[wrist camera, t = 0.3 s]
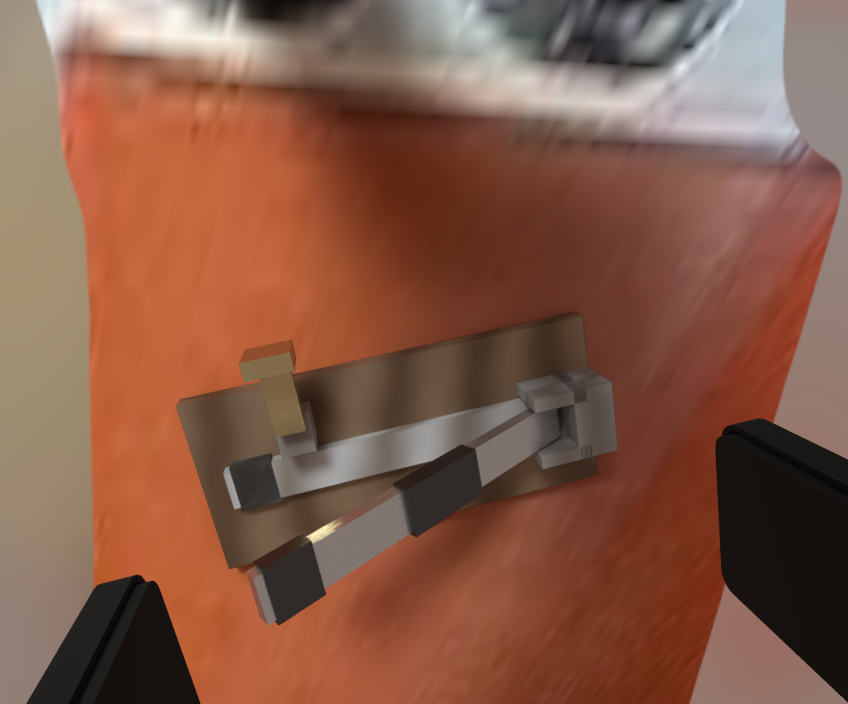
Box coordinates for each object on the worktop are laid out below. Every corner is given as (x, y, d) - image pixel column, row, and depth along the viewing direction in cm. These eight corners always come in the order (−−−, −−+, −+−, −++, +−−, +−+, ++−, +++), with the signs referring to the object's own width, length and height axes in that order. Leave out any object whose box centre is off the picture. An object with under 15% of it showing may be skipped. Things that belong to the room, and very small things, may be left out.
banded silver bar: (548, 392, 46) (563, 396, 45) (553, 434, 47) (568, 438, 46) (244, 566, 31) (255, 577, 30) (261, 621, 32) (272, 634, 31)
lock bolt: (245, 347, 38) (238, 363, 34) (292, 337, 38) (289, 352, 35) (269, 433, 39) (265, 455, 36) (313, 423, 40) (313, 444, 36)
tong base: (574, 312, 47) (606, 327, 42) (590, 466, 51) (621, 498, 46) (180, 399, 43) (161, 428, 38) (231, 557, 48) (221, 603, 42)
